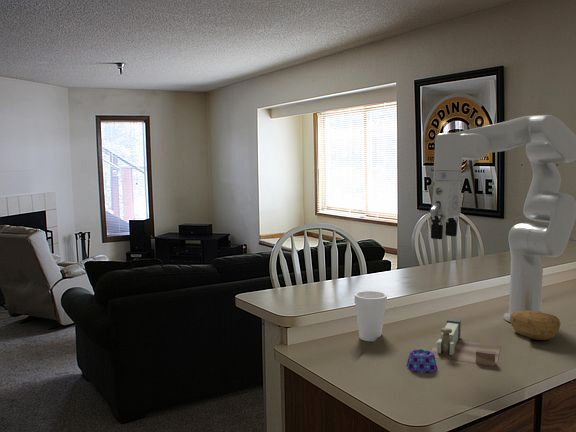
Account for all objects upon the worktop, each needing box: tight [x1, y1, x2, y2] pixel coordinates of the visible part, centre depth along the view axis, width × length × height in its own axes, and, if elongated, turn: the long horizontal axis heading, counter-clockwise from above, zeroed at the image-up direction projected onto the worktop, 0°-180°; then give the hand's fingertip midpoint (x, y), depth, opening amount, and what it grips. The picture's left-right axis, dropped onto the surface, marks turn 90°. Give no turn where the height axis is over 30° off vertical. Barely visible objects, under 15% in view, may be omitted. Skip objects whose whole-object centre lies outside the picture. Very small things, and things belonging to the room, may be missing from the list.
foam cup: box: [354, 290, 388, 342], centre depth 166 cm, size 10×9×13 cm
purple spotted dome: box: [406, 348, 438, 374], centre depth 141 cm, size 12×12×5 cm
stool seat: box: [430, 327, 502, 367], centre depth 151 cm, size 16×17×8 cm
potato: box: [509, 310, 561, 341], centre depth 164 cm, size 10×14×8 cm
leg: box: [437, 318, 462, 355], centre depth 156 cm, size 16×4×5 cm, turn 155°
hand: (443, 237), depth 161 cm, fingers open, 9 cm apart
